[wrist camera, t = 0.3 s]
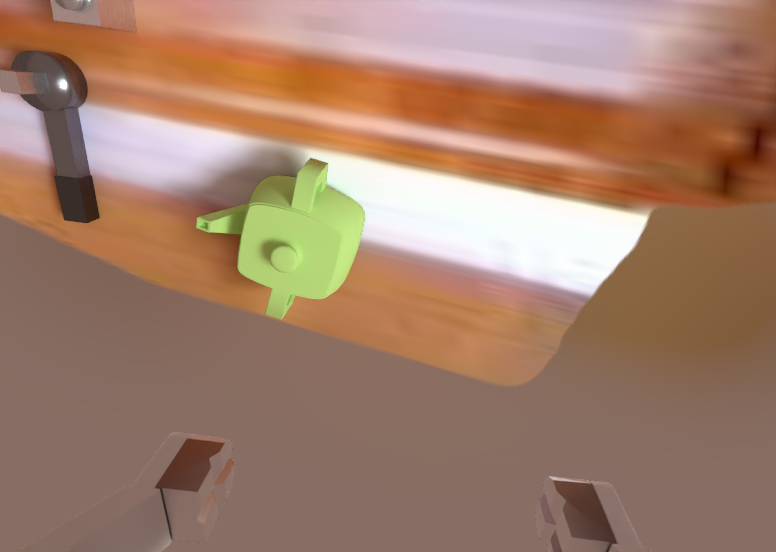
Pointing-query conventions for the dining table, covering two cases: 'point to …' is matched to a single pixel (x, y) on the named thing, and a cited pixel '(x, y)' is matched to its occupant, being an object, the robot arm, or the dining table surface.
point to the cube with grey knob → (96, 13)
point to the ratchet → (58, 123)
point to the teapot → (293, 235)
